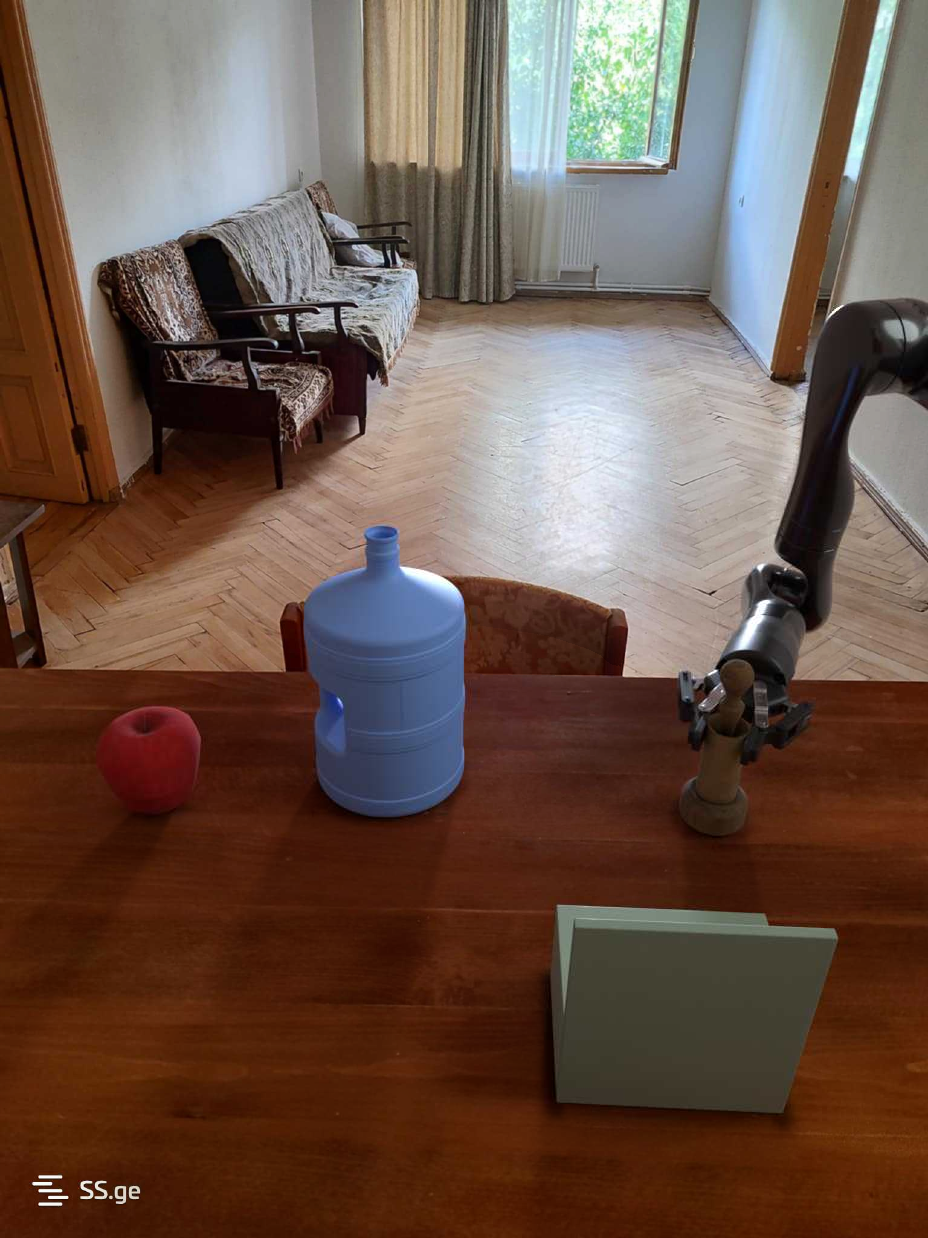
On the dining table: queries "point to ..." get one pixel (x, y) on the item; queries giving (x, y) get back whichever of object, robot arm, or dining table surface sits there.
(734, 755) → the mortar and pestle
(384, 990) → the dining table surface
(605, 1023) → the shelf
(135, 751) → the apple
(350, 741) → the water jug
